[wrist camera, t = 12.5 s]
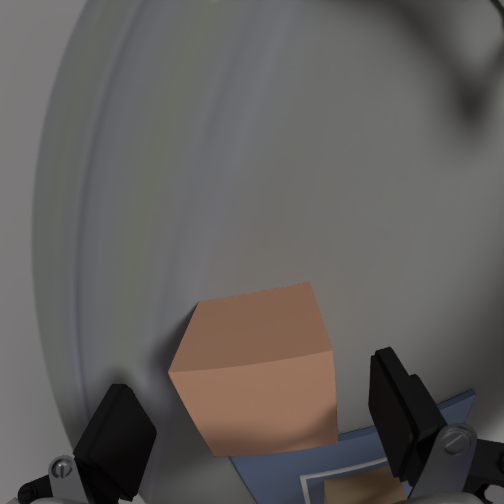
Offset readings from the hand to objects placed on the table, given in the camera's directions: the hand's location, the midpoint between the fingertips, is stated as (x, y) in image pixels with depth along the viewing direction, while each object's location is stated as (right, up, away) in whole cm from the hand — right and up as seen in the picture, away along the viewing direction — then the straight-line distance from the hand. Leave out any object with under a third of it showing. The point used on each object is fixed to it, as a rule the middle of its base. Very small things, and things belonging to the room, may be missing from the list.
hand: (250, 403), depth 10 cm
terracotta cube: (+1, +2, +4) cm, 4 cm away
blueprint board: (+9, -14, +8) cm, 19 cm away
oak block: (+9, -15, +8) cm, 19 cm away
